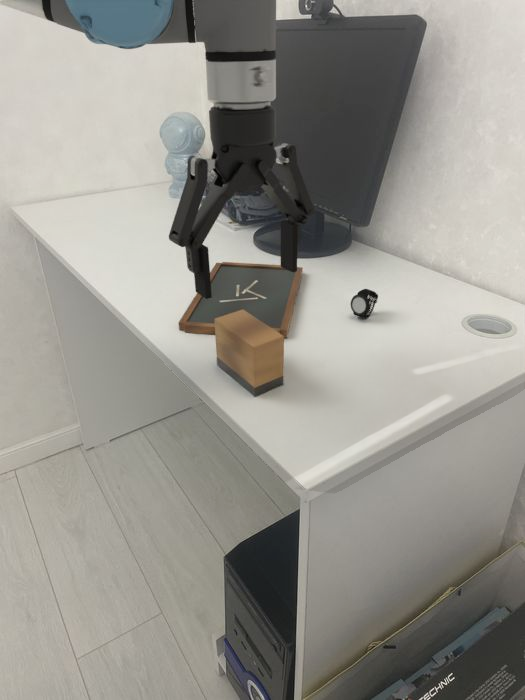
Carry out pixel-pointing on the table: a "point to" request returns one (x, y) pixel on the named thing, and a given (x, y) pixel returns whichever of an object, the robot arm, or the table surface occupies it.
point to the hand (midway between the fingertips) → (248, 281)
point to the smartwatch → (363, 303)
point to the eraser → (249, 351)
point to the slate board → (245, 296)
